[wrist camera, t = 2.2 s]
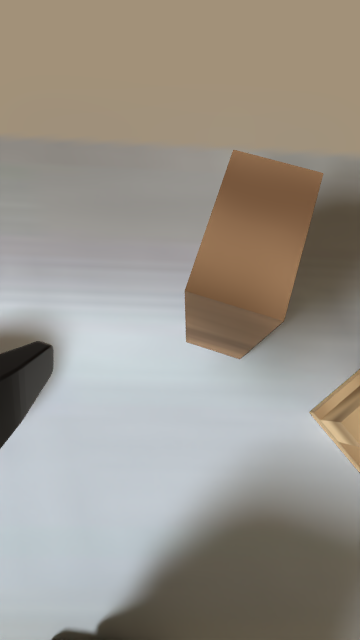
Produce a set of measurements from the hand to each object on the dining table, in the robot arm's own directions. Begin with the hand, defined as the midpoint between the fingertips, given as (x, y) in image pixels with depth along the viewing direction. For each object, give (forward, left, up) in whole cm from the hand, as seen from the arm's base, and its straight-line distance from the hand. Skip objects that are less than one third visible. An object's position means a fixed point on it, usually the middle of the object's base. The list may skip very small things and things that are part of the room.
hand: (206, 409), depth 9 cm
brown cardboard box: (+6, -1, -12) cm, 14 cm away
